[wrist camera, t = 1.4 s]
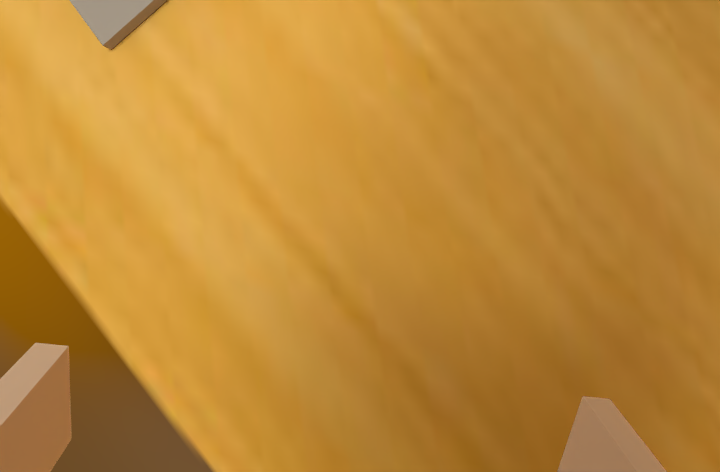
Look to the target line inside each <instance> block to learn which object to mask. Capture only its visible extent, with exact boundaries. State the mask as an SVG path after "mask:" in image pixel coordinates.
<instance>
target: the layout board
mask: <svg viewBox="0 0 720 472" xmlns="http://www.w3.org/2000/svg"><path fill="white" fill-rule="evenodd" d="M70 1H71V3H72V4H73V6H74V7H75V8H76V10H77V11H78V12H79V14H80V15H81V16H82V18H83V19H84V21H85V22H86V23H87V25H88V26H89V27H90V29H91V30H92V31H93V33H94V34H95V35H96V37H97V38H98V40H99V41H100V42H101V44H102V45H103V46H105V47H107V48H109V49H113V48H114V47H115V46H116V45H117V44H118V43H119V42H121V41H122V40H123V39H124V38H125V37H126V36H127V35H128V34H130V33H131V32H132V31H133V30H134V29H135V28H136V27H138V26H139V25H140V24H141V23H142V22H143V21H144V20H145V19H147V18H148V17H149V16H150V15H151V14H152V13H153V12H155V11H156V10H157V9H158V8H159V7H160V6H161V5H162V4H164V3H165V2H166V1H167V0H70Z"/></svg>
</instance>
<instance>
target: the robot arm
mask: <svg viewBox="0 0 720 472" xmlns="http://www.w3.org/2000/svg"><path fill="white" fill-rule="evenodd" d="M70 440H71V406H70V375H69V346H63V345H51V344H42V343H35V344H34V345H33V346H32V347H31V348H30V349H29V350H28V351H27V352H26V353H25V354H24V355H23V356H22V357H21V358H20V359H19V360H18V361H17V363H15V365H14V366H13V367H12V368H11V369H10V370H9V371H8V372H7V373H6V374H5V375H4V376H3V377H2V378H1V379H0V472H50V471H51V470H52V468H53V467H54V465H55V463H56V462H57V460H58V459H59V457H60V456H61V454H62V453H63V451H64V450H65V448H66V446H67V445H68V443H69V442H70ZM557 472H667V471H666V470H665V469H664V467H663V466H662V465H661V463H660V462H659V461H658V460H657V458H656V457H655V456H654V455H653V453H652V452H651V451H650V449H649V448H648V447H647V446H646V444H645V443H644V442H643V441H642V439H641V438H640V437H639V435H638V434H637V433H636V432H635V430H634V429H633V428H632V426H631V425H630V424H629V423H628V421H627V420H626V419H625V418H624V416H623V415H622V414H621V412H620V411H619V410H618V409H617V407H616V406H615V405H614V404H613V402H612V401H611V400H610V399H607V398H597V397H587V396H582V399H581V402H580V405H579V408H578V411H577V414H576V417H575V420H574V423H573V426H572V429H571V432H570V435H569V438H568V441H567V444H566V447H565V450H564V453H563V456H562V459H561V462H560V465H559V468H558V471H557Z"/></svg>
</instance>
